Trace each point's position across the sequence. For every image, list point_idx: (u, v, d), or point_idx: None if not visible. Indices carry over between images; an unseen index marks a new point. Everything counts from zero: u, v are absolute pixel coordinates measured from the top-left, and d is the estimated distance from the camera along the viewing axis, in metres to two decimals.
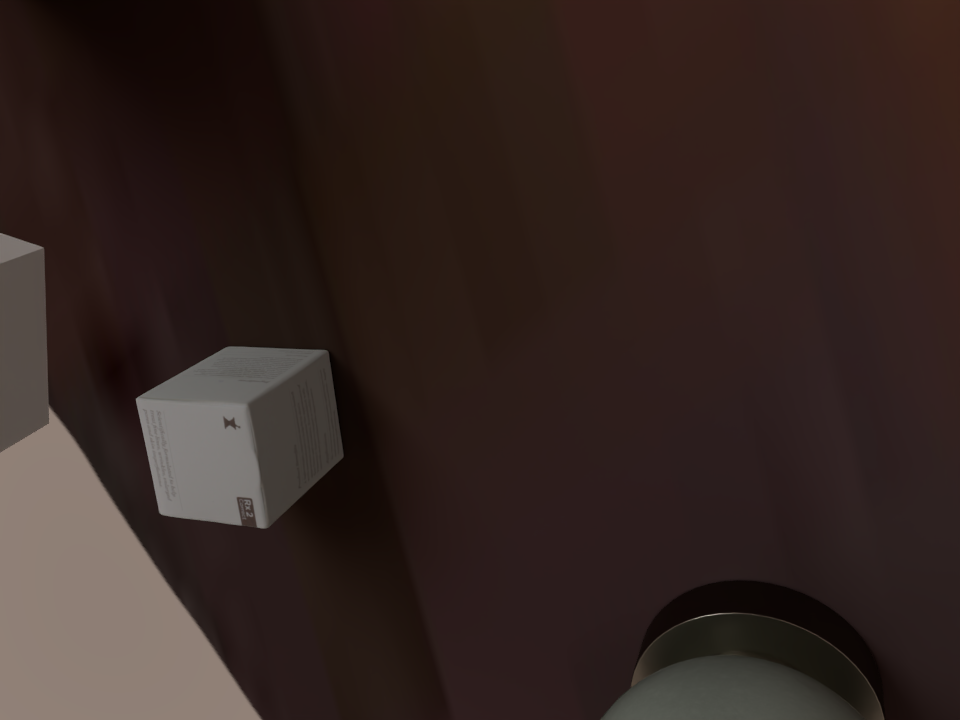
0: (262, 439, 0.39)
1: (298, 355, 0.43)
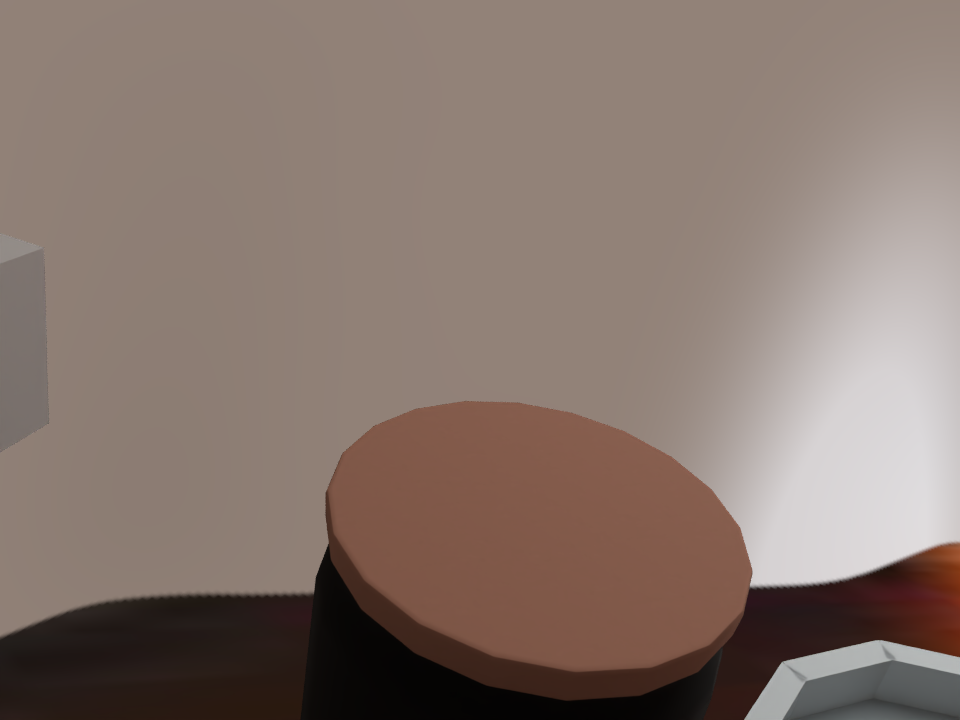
0: None
1: None
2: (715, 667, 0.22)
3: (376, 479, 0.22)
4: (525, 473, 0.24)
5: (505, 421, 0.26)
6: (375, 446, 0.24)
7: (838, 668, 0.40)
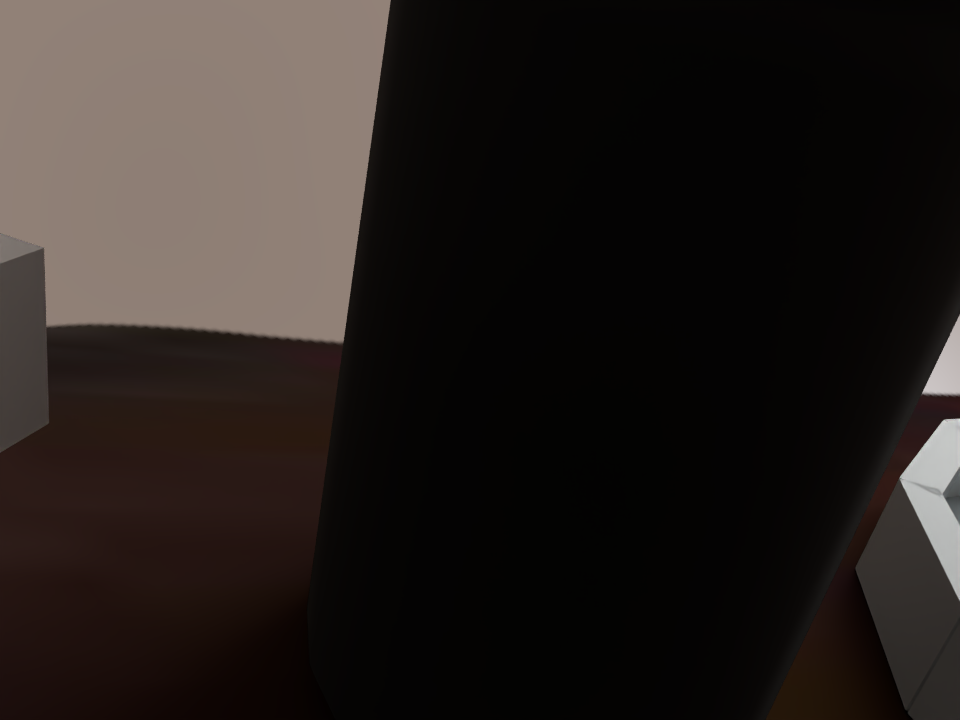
0: None
1: None
2: None
3: None
4: None
5: None
6: None
7: None
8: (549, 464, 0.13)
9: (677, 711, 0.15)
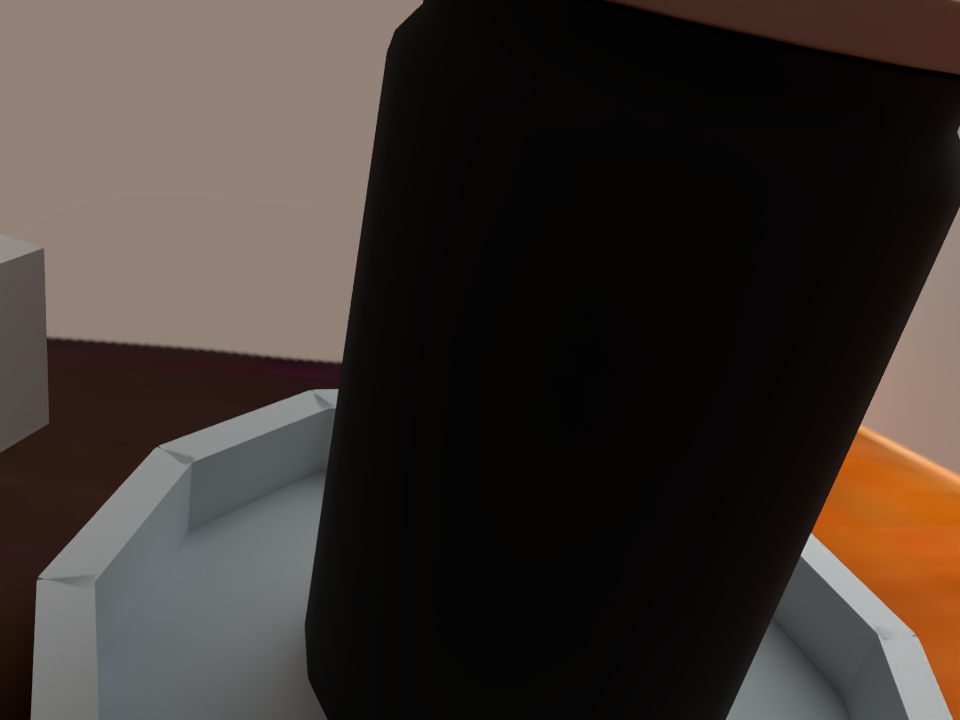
0: None
1: None
2: None
3: None
4: None
5: None
6: None
7: None
8: (522, 506, 0.15)
9: None
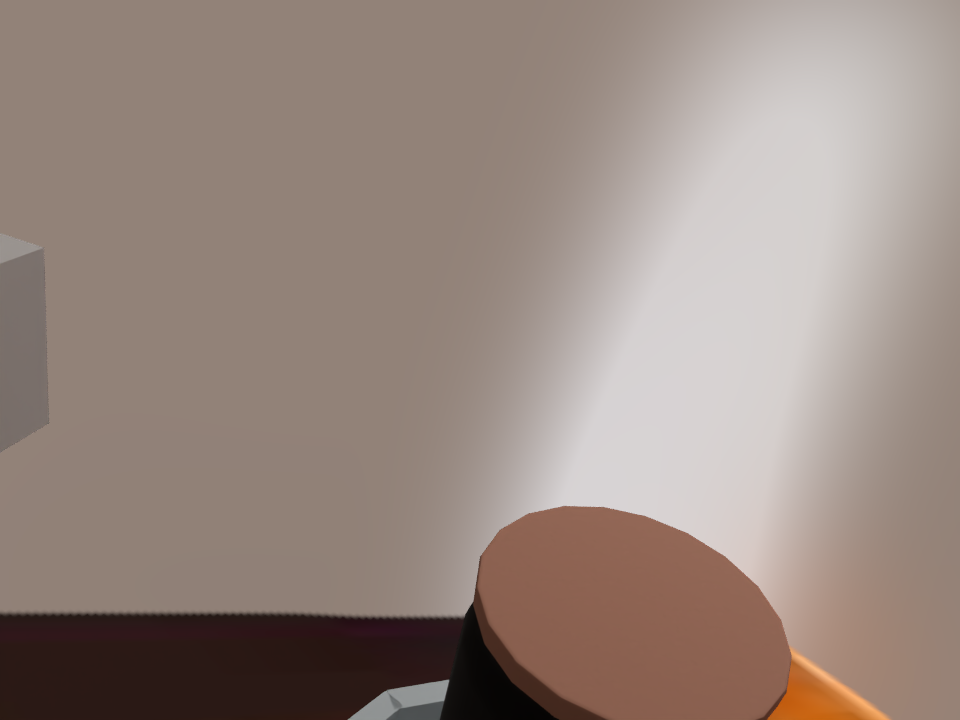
0: None
1: None
2: None
3: (510, 577, 0.30)
4: (617, 572, 0.31)
5: (597, 525, 0.33)
6: (504, 548, 0.31)
7: (438, 697, 0.44)
8: None
9: None
